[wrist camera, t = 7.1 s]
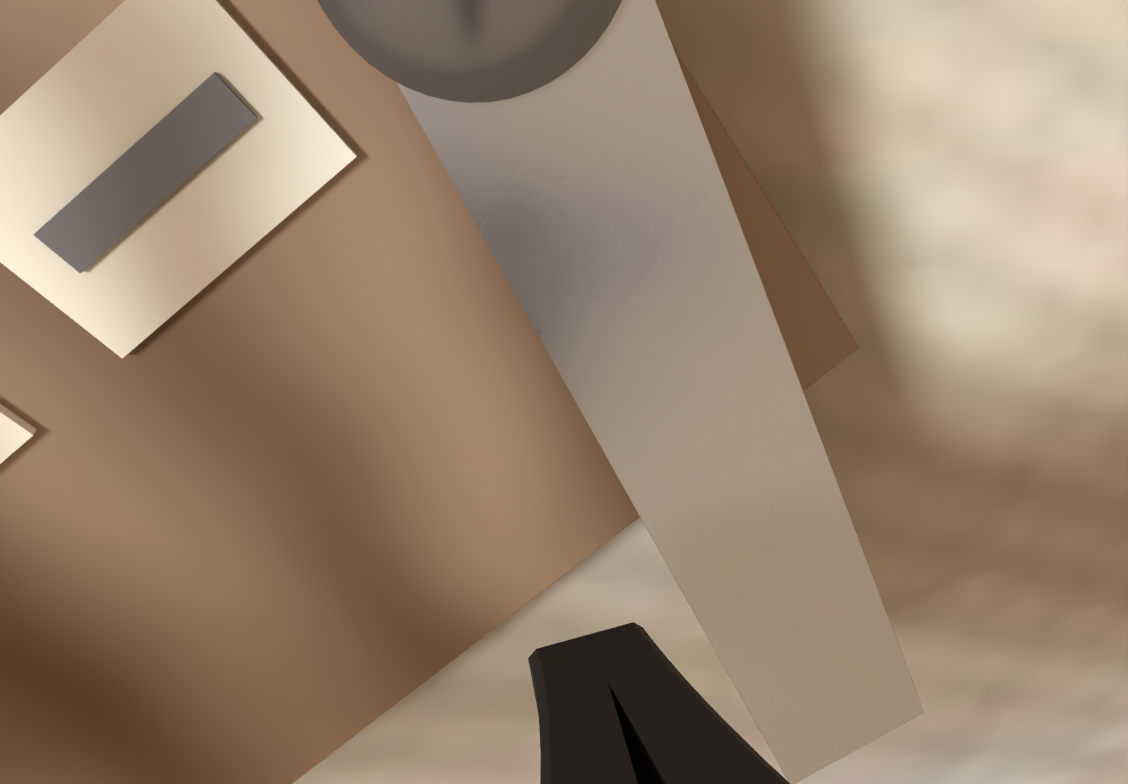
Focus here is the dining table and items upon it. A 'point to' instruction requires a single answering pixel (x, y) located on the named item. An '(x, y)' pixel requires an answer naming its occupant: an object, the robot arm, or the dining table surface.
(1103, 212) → the dining table surface
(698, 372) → the swing bar
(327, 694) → the label board
